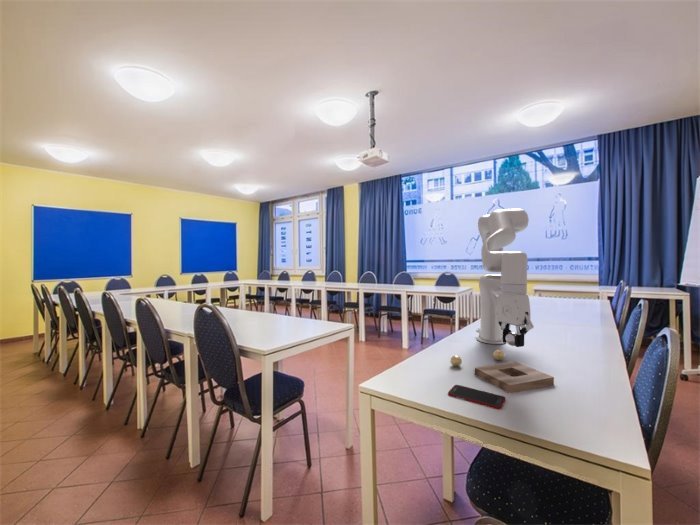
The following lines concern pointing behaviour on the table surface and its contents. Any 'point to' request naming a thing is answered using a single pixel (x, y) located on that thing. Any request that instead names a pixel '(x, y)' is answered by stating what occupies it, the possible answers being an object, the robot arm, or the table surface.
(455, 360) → the brass ball
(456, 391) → the cell phone
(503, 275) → the robot arm
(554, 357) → the table surface
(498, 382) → the pocket plate
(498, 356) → the brass ball
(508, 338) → the steel ball
